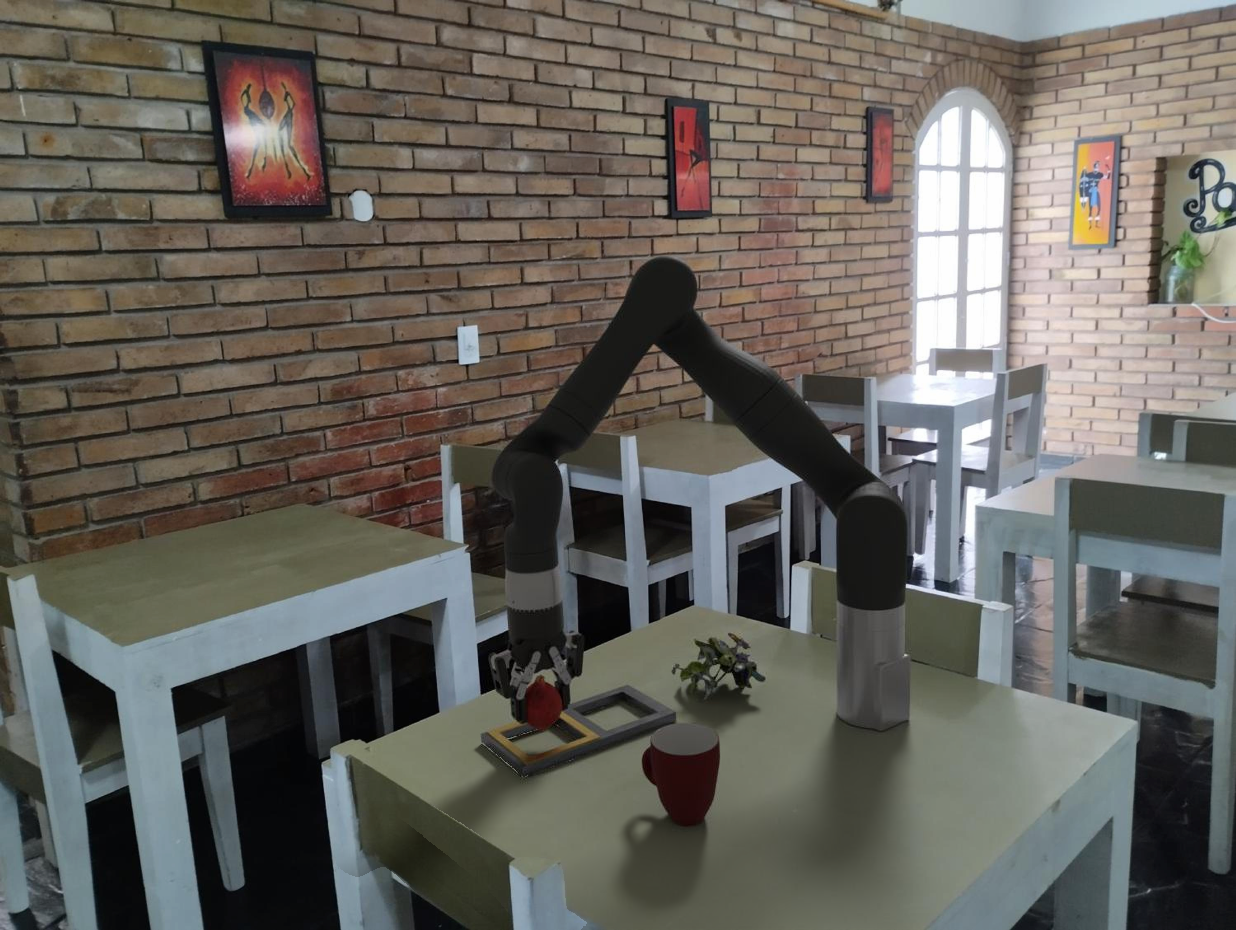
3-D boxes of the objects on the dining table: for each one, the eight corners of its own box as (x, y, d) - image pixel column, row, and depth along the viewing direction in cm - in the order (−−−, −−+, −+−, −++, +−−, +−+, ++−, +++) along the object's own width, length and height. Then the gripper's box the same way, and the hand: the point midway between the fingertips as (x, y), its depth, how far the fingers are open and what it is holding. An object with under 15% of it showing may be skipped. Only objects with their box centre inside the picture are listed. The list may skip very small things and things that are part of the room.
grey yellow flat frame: (676, 721, 138) (675, 710, 138) (523, 778, 124) (522, 766, 124) (628, 693, 148) (627, 683, 147) (481, 743, 134) (480, 732, 134)
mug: (622, 817, 114) (618, 739, 112) (659, 786, 121) (656, 712, 119) (699, 843, 108) (697, 762, 106) (733, 809, 115) (732, 732, 113)
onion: (557, 741, 129) (553, 686, 127) (516, 739, 130) (512, 684, 129) (568, 721, 135) (564, 668, 133) (528, 719, 136) (525, 666, 134)
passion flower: (739, 720, 149) (783, 668, 144) (696, 733, 141) (740, 679, 136) (696, 664, 155) (736, 613, 150) (652, 674, 147) (693, 620, 142)
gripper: (499, 618, 122) (508, 741, 125) (594, 593, 129) (600, 709, 133) (473, 603, 128) (482, 720, 131) (565, 579, 136) (572, 691, 139)
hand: (541, 714), depth 132 cm, fingers closed on onion, 6 cm apart
